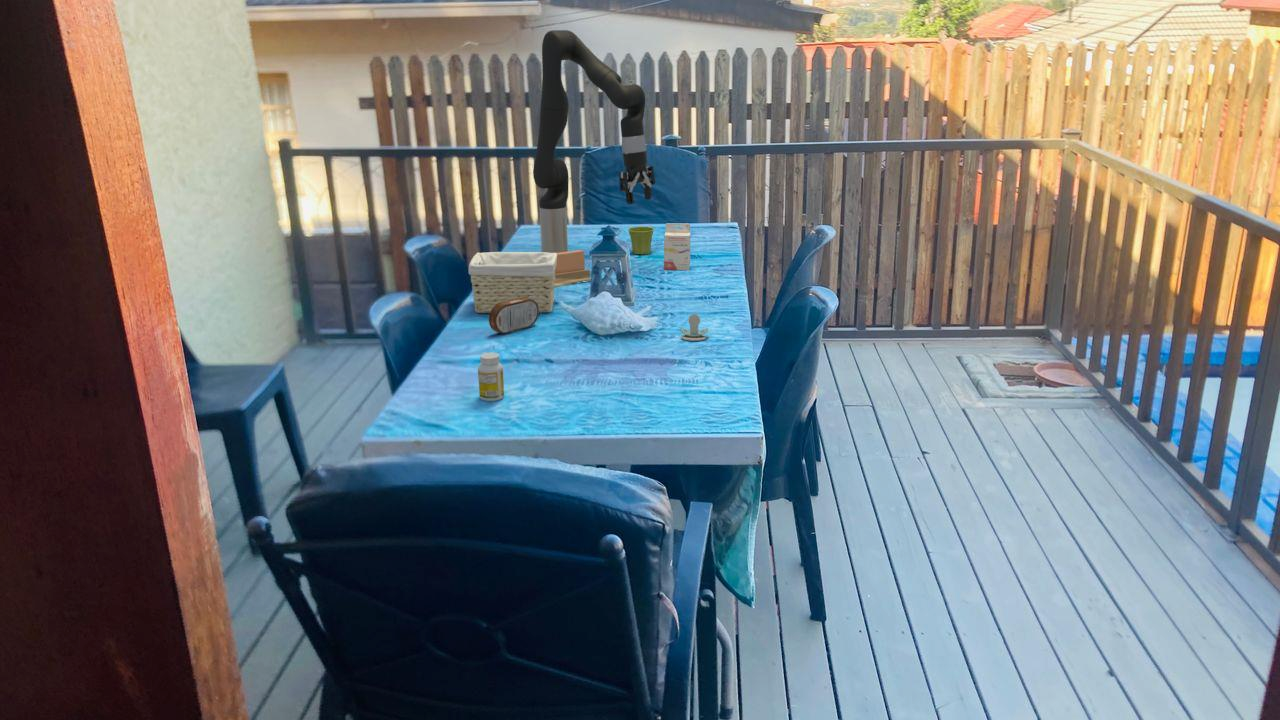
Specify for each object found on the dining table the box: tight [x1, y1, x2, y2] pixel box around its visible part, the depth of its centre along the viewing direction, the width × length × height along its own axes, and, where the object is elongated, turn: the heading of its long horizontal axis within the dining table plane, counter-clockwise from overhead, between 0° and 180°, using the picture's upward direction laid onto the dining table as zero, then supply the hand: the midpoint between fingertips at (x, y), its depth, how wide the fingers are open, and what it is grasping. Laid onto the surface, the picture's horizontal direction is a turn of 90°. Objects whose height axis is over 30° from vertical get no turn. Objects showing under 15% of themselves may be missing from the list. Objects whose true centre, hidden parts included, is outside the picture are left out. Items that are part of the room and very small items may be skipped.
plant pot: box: [627, 226, 655, 256], centre depth 338 cm, size 9×9×9 cm
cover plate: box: [555, 249, 586, 274], centre depth 303 cm, size 2×14×9 cm, turn 119°
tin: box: [488, 297, 540, 335], centre depth 254 cm, size 15×3×8 cm, turn 135°
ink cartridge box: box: [663, 222, 692, 271], centre depth 315 cm, size 9×5×15 cm, turn 84°
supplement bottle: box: [477, 352, 505, 402], centre depth 208 cm, size 5×5×10 cm
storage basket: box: [468, 251, 557, 314], centre depth 274 cm, size 24×16×15 cm
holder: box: [554, 268, 591, 288], centre depth 303 cm, size 12×18×3 cm, turn 119°
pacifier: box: [679, 313, 709, 342], centre depth 246 cm, size 7×6×6 cm
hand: (639, 201), depth 308 cm, fingers open, 8 cm apart
